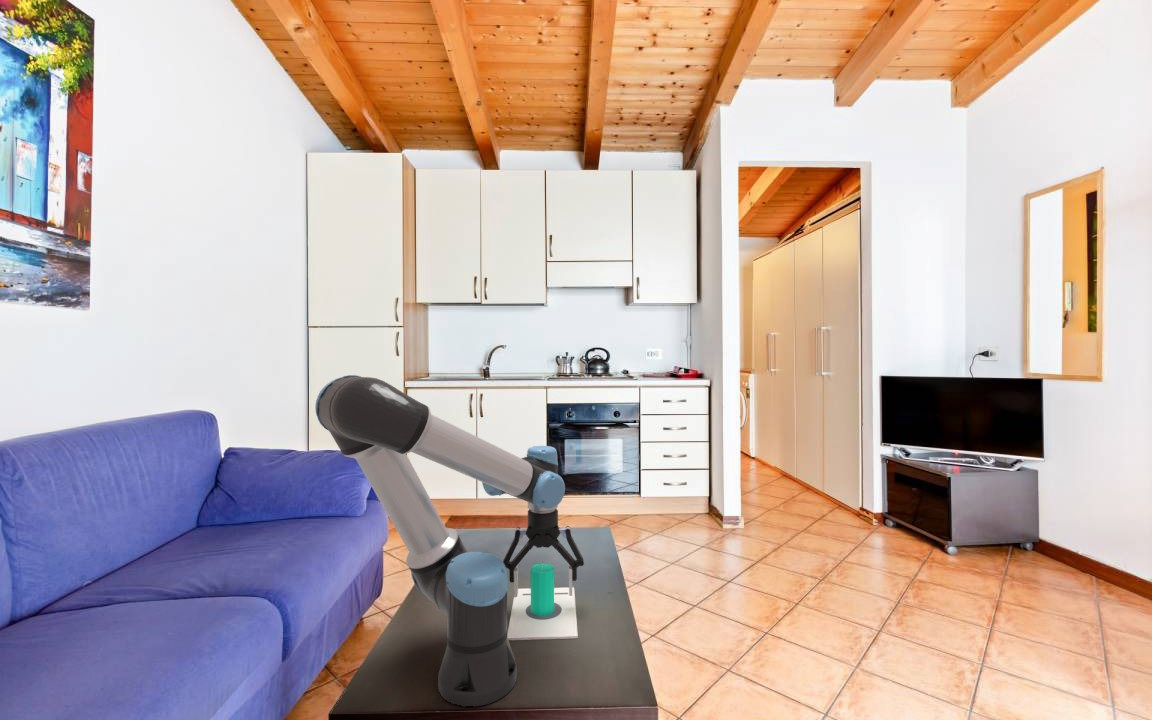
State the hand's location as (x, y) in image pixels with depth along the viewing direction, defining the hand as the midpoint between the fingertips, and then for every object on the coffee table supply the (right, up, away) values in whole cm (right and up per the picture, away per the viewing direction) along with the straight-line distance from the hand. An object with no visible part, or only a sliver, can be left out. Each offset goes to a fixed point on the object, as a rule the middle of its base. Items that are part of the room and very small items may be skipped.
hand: (543, 594), depth 124 cm
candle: (0, -4, 0) cm, 4 cm away
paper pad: (0, -5, 0) cm, 4 cm away
